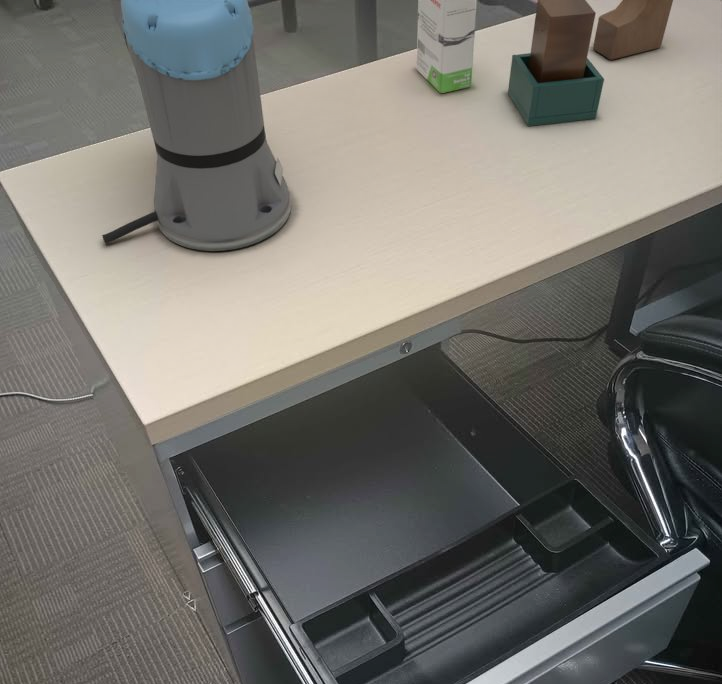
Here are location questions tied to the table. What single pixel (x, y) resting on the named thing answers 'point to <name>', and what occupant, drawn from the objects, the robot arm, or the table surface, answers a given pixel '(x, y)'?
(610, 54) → the wooden block
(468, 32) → the ink box
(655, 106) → the table surface
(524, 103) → the open box
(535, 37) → the post
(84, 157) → the table surface
